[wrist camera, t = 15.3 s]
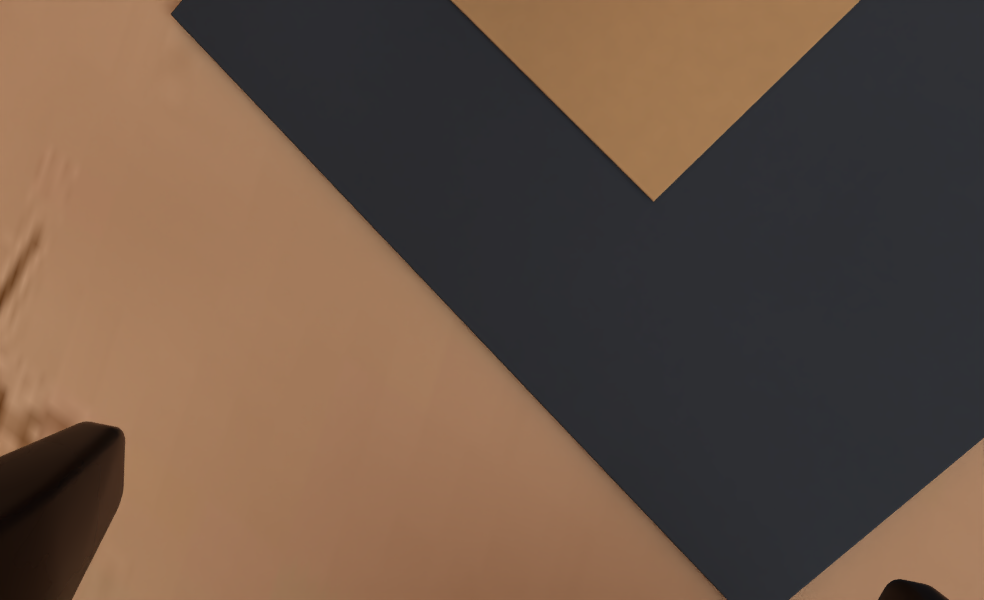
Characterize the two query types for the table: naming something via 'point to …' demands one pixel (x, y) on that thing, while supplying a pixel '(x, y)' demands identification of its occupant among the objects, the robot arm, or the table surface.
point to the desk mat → (676, 232)
